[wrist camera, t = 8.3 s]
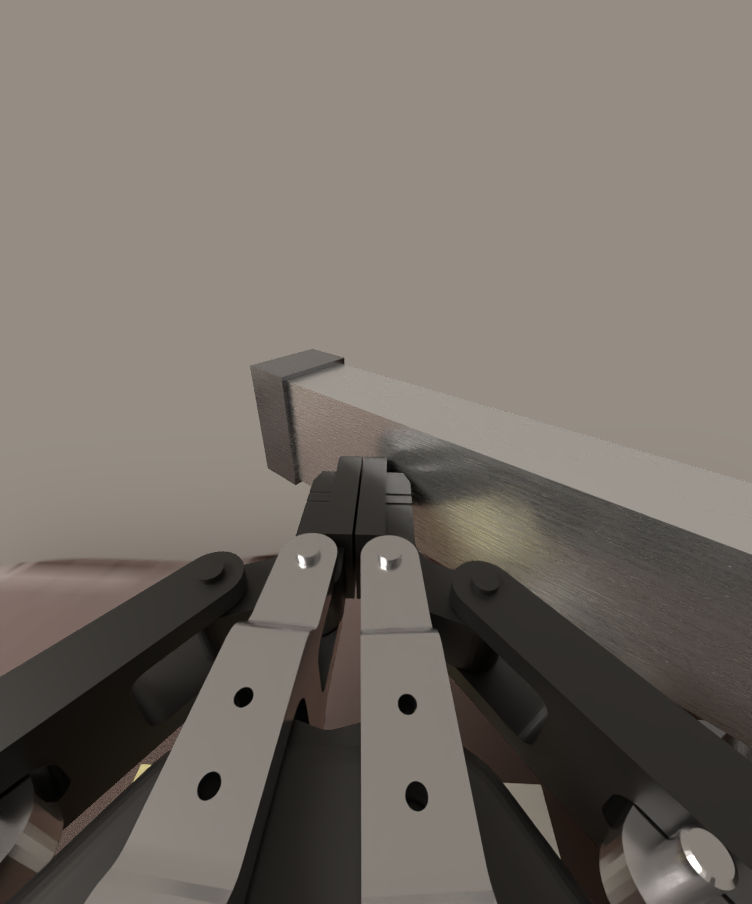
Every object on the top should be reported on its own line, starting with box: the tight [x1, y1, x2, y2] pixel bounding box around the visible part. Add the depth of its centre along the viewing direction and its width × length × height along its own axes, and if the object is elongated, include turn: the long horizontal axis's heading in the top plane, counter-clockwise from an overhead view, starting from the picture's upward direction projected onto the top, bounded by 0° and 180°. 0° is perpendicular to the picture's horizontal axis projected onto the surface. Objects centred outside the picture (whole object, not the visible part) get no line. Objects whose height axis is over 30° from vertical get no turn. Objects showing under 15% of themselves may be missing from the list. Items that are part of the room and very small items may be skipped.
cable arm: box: [250, 349, 752, 748], centre depth 11 cm, size 21×4×5 cm, turn 49°
